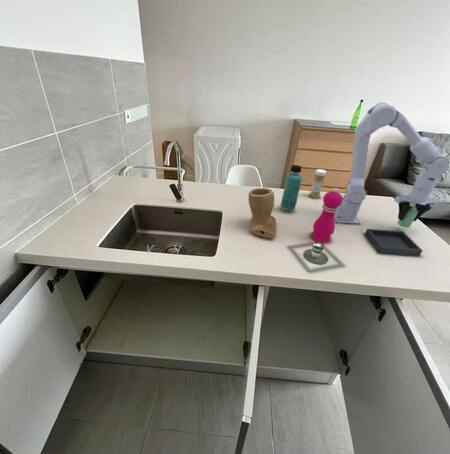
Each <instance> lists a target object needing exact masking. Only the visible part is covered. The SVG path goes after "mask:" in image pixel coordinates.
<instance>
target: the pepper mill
mask: <svg viewBox="0 0 450 454" xmlns="http://www.w3.org/2000/svg"><path fill="white" fill-rule="evenodd" d="M342 197H343V195H342V194H341V193H340V192H339V188H338V187H334V188H333V189H332V191H331V190H330V191H328V192H326V193H325V194H324V195H323V198H322V207H321V208H322V211H321V214H320V215H319V217H318V218H317V219H316V220H315V222H314V223H313V225H312V229H313V231H312V233H311V238H312V239H313V240H314V241H315V242H320V243H322V244H326V243H329V242H330V240H331V236H332V235H333V234H334V233H335V229H336V226H335V225H336V224H335V220H334V215H335V212H337V211H338V206H340V205H341V204H342V201H343V198H342Z"/></svg>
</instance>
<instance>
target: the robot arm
mask: <svg viewBox="0 0 450 454" xmlns="http://www.w3.org/2000/svg"><path fill="white" fill-rule="evenodd" d="M387 126H389V127H391V128H395V129H397V130H398V131H399V132H400V134H402V135H403V137H405V139H406V140H407V141H408V142H409V143H410V145H409V150H410V151H411V153H412V154H413V155H414V156H415V157H416V158H417V159H418V161H419V162H420V163H421V165H422V166H423V167H422V168H421V170H420V172H419V174H418V175H417V178H416V180H415V182H414V184H413V186H412V188H411V190H410V192H409V194H408V195H407V194H406V195H395V197H394V200H393V201H394V202H395V203H397V205H398V214H397V219H398V220H399V219H400V220H403V219H404V218H405V216H406V214H407V213H408V211H409V210H410V209H411V208H412V207H411V206H412V205H411V204H415V205H414V207H416V208H417V210H418V213H417V215H416V217H415V219H414V221H413V222H417V220H418V219H419V218H420V217H421V216H423V215H424V214H426V213H427V212H428V211H431V209H432V206H435V207H436V206H437V205H438V203H439V200H438V199H436V198H431V197H430V196H431V194H432V192H433V190H434V188H435V186H436V185H437V183H438V182H439V180H440V178H441V175H442V174H444V173H446V172H447V171H448V170H449V169H450V160H449V158H447V157H446V156H444V155H443V154H444V150H442V149H439V148H438V147H437V146H436V144H434V143H435V139H434V138H430V137H428V136H421V135H420V134H419V132H418V131H417V129H415V127H414V125H412V123H411V122H410V121H409V119H408V118H407V117H406V116H405V115H404V114H403V113H401V112H400V111H398V110H397V108H395V106H393V105H391V104H388V102H387V103H386V102H379V103H377V104H374V106H372V107H371V108H370V109H368V110H367V111H366V114H365V115H364V117H363V118H362V119H361V120H360V122H359V123H358V124H357V126H356V127H355V131H354V139H353V147H352V157H351V167H350V175H349V177H348V182H347V184H346V186H345V191H346V193H344V195H342V198H343V201H342V204H341V205H340V206H338V211H337V212H335V215H334V223H343V224H354V225H355V224H357V225H359V224H360V222H359V220H358V219H357V216H358V214H359V211H360V209H361V206H362V204H363V202H364V200H365V199H366V196H367V194H366V191H365V174H366V166H367V160H368V152H369V145H370V137H371V135H373V134H374V133H375V132H376V131H378V130H379V129H381V128H385V127H387ZM431 205H432V206H431Z"/></svg>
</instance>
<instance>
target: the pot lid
mask: <svg viewBox="0 0 450 454" xmlns="http://www.w3.org/2000/svg"><path fill="white" fill-rule="evenodd" d="M324 246H325V245H324V243H321V242H318V241H314V242H313V243H312V247H311V248H308V249H306V250H304V251H303V256H304V258H305V259H306V261H308V262H310V263H312V264H314V265H325V264H326V263H328V261H329V257H328V255H327V254H326V253H325V252H323V250H324Z"/></svg>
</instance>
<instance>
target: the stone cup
mask: <svg viewBox="0 0 450 454" xmlns="http://www.w3.org/2000/svg"><path fill="white" fill-rule="evenodd" d="M248 205H249V208H250V212H251V218H250V222H249V223H250V225H249V231H250V232H251V233H252V234H254V235H256V236H258V237H261V238H267V239H273V238H276V237H277V232H278V231H277V220H276V219H277V218H276V217H275V216H272V213H273V210H274V205H275V193H274V191H273V190H272V189H271V188H268V187H256V188H253V189H250V190H249V192H248Z"/></svg>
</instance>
